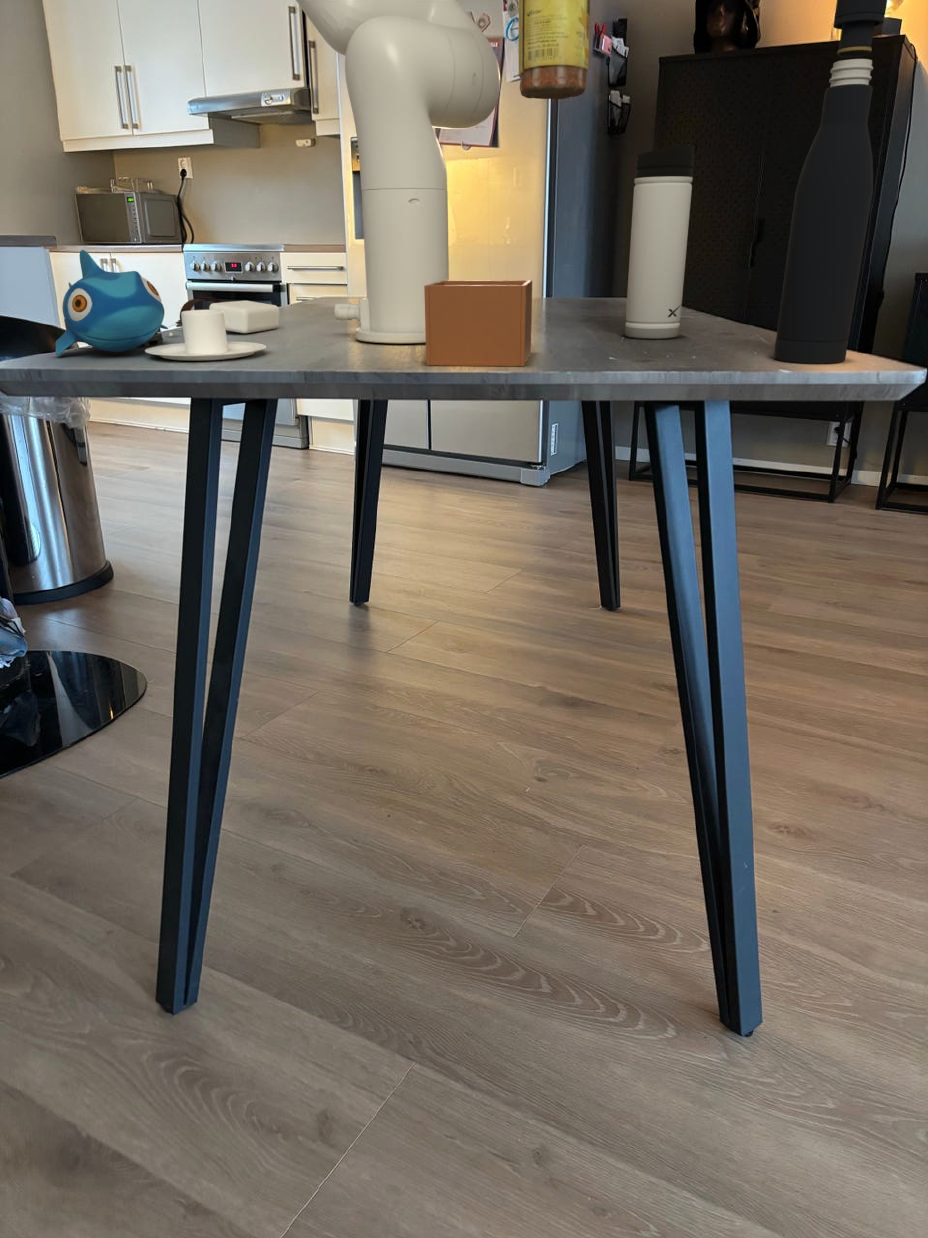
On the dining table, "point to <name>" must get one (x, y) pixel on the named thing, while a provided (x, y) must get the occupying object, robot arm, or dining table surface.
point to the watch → (191, 303)
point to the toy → (110, 309)
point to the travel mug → (659, 242)
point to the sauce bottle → (553, 48)
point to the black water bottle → (832, 204)
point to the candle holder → (204, 339)
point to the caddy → (478, 322)
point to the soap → (248, 316)
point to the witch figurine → (176, 326)
